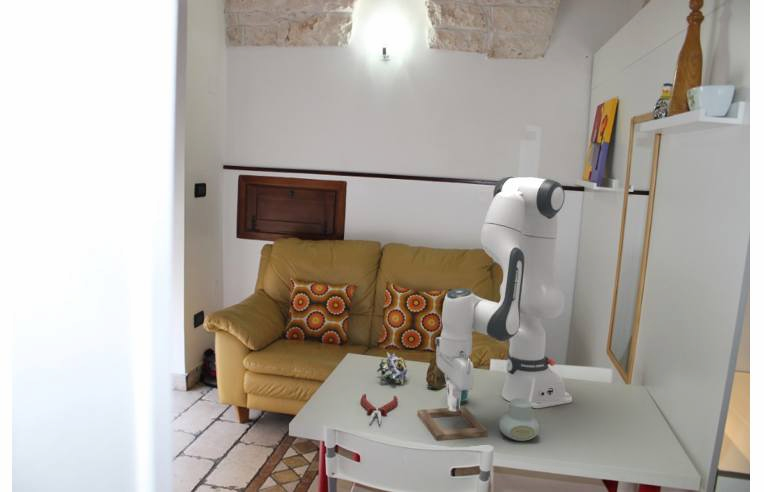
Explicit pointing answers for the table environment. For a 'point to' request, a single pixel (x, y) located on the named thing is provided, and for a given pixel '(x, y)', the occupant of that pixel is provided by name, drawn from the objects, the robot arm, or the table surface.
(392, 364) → the passion flower
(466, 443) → the table surface
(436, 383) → the decorative stone
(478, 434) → the wooden frame
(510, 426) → the air freshener
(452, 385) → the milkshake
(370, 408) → the pliers
